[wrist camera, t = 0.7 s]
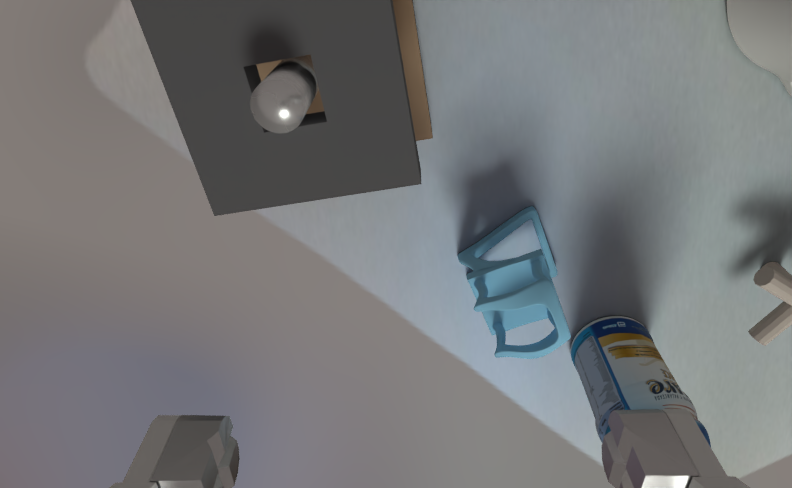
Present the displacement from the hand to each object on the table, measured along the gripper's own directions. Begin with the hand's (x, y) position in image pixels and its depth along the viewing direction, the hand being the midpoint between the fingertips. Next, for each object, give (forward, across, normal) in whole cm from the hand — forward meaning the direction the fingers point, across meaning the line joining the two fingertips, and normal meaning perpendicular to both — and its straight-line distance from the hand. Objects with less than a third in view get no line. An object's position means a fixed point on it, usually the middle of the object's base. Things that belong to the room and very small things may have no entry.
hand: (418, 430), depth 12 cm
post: (+35, +7, 0) cm, 36 cm away
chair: (+36, -9, +19) cm, 42 cm away
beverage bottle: (+36, -21, +30) cm, 51 cm away
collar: (+27, +7, 0) cm, 28 cm away
